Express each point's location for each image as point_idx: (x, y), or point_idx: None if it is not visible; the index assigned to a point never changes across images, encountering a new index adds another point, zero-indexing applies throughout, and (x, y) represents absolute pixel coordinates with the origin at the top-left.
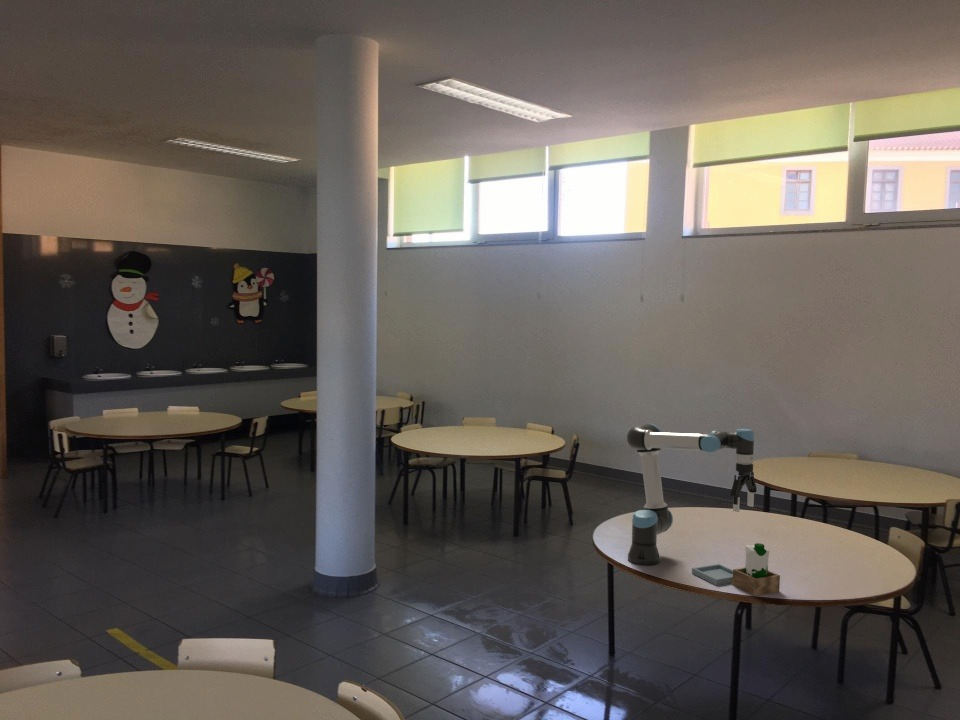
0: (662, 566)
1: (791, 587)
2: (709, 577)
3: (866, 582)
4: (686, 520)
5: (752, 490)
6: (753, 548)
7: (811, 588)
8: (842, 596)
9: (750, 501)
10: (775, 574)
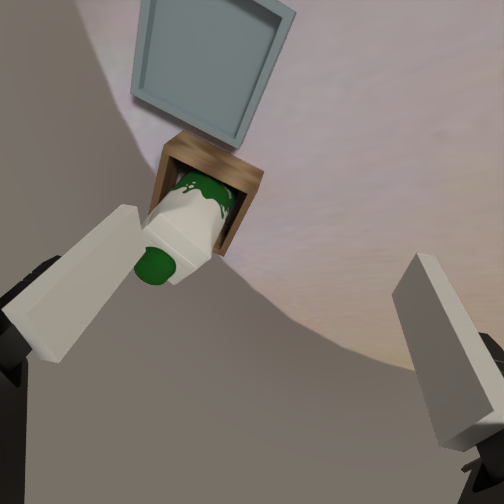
0: None
1: (279, 246)
2: (136, 57)
3: None
4: None
5: (469, 490)
6: (147, 247)
7: (302, 276)
8: (294, 316)
9: (417, 316)
10: (223, 247)
